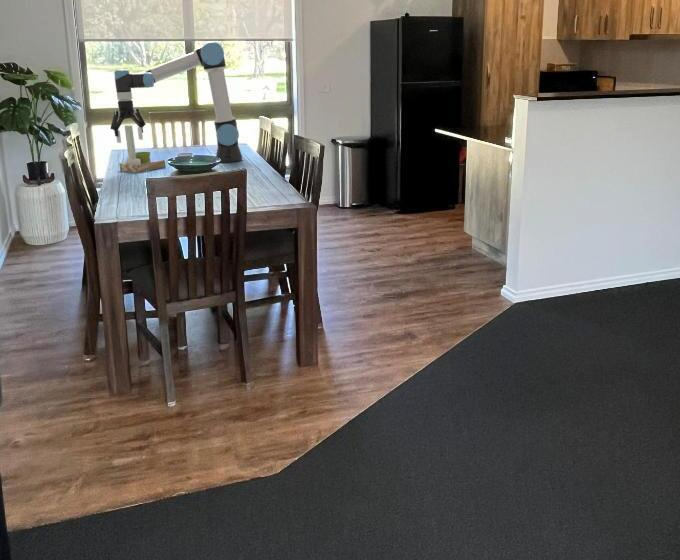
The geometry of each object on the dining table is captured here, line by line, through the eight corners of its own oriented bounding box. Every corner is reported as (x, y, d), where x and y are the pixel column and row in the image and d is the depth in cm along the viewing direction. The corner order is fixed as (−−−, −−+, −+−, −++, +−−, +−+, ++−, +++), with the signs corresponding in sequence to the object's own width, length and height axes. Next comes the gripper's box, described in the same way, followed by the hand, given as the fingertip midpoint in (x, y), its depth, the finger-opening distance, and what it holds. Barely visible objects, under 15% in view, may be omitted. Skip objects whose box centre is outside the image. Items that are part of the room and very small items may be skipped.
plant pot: (148, 170, 398) (146, 154, 395) (131, 170, 399) (129, 154, 397) (155, 167, 406) (153, 151, 404) (139, 167, 408) (137, 151, 405)
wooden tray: (165, 167, 405) (164, 160, 403) (136, 172, 391) (135, 165, 390) (149, 165, 414) (148, 158, 413) (120, 170, 400) (119, 163, 399)
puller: (141, 170, 395) (135, 125, 388) (138, 170, 394) (132, 126, 387) (129, 168, 402) (123, 124, 395) (126, 169, 401) (120, 125, 394)
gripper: (140, 98, 398) (145, 137, 405) (100, 102, 380) (105, 143, 387) (149, 98, 393) (153, 138, 400) (108, 102, 376) (113, 144, 382)
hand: (130, 141), depth 393 cm, fingers open, 13 cm apart
